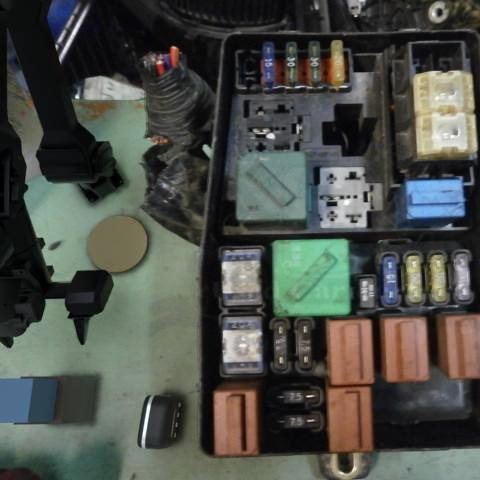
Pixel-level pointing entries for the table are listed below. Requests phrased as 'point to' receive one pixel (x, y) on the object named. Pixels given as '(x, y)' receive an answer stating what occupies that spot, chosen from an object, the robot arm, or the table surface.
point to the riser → (70, 400)
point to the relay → (27, 400)
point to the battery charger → (159, 421)
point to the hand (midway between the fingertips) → (47, 344)
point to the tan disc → (117, 244)
